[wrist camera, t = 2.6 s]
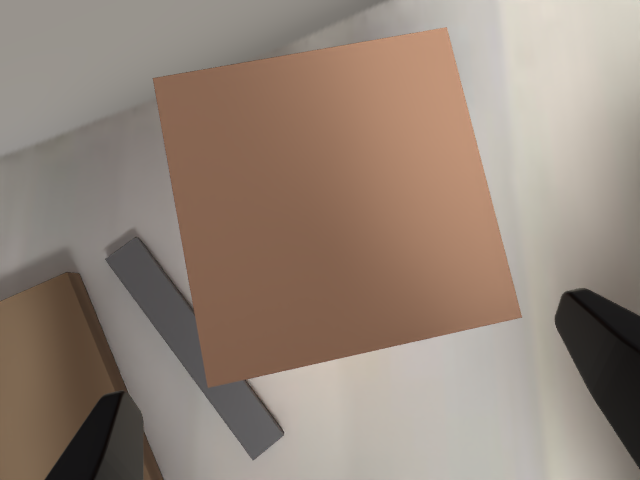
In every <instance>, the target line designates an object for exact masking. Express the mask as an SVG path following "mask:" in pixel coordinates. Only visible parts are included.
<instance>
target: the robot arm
mask: <svg viewBox="0 0 640 480" xmlns="http://www.w3.org/2000/svg"><path fill="white" fill-rule="evenodd" d="M555 325H556V328H557V330H558V332H559V334H560V336H561V338H562V340H563V342H564V343H565V345H566V347H567V349H568V351H569V353H570V355H571V357H572V359H573V361H574V363H575V365H576V367H577V369H578V371H579V373H580V375H581V377H582V378H583V380H584V382H585V384H586V386H587V388H588V390H589V391H590V393H591V395H592V396H593V398H594V400H595V401H596V403H597V405H598V406H599V408H600V409H601V411H602V412H603V414H604V415H605V417H606V418H607V420H608V421H609V423H610V424H611V426H612V428H613V429H614V431H615V432H616V434H617V435H618V437H619V438H620V440H621V441H622V443H623V444H624V446H625V447H626V449H627V451H628V452H629V454H630V455H631V457H632V458H633V460H634V461H635V463H636V464H637V466H638V467H639V469H640V316H639V315H637V314H635V313H633V312H631V311H629V310H627V309H625V308H623V307H621V306H620V305H618V304H616V303H614V302H612V301H610V300H608V299H606V298H604V297H602V296H600V295H598V294H596V293H594V292H592V291H590V290H588V289H585V288H579V289H574V290H570V291H566V292H564V293H563V294H562V296H561V299H560V303H559V306H558V309H557V312H556V315H555ZM44 480H143V417H142V414H141V411H140V410H139V408H138V407H137V405H136V404H135V402H134V401H133V400H132V398H131V397H130V395H129V394H128V393H127V392H126V391H124V390H121V391H116V392H112V393H107V394H105V395H103V396H102V397H101V398H100V399H99V400H98V402H97V403H96V405H95V406H94V408H93V409H92V411H91V412H90V413H89V415H88V416H87V418H86V419H85V421H84V422H83V424H82V425H81V427H80V428H79V430H78V431H77V432H76V434H75V435H74V437H73V438H72V440H71V441H70V443H69V444H68V446H67V447H66V449H65V450H64V451H63V453H62V454H61V456H60V457H59V459H58V460H57V462H56V463H55V465H54V466H53V468H52V469H51V470H50V472H49V473H48V475H47V476H46V478H45V479H44Z"/></svg>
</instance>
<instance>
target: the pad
mask: <svg viewBox="0 0 640 480" xmlns="http://www.w3.org/2000/svg"><path fill="white" fill-rule="evenodd" d="M121 390H124V391H126V392H127V389H126V387H125V384H124V382H123V380H122V377H121V375H120V372H119V370H118V367H117V365H116V362H115V360H114V357H113V355H112V353H111V350H110V348H109V345H108V343H107V340H106V338H105V335H104V333H103V331H102V328H101V326H100V323H99V321H98V318H97V316H96V313H95V311H94V309H93V306H92V304H91V301H90V299H89V296H88V294H87V291H86V289H85V286H84V284H83V282H82V279H81V277H80V274H79V273H70V272H66V273H64V274H62V275H59V276H57V277H55V278H52V279H50V280H48V281H46V282H43V283H41V284H39V285H36V286H34V287H32V288H30V289H27V290H25V291H23V292H20V293H18V294H16V295H14V296H11V297H9V298H7V299H4V300H2V301H0V480H44V479H45V478H46V476H47V475H48V473H49V472H50V470H51V469H52V468H53V466H54V465H55V463H56V462H57V460H58V459H59V457H60V456H61V454H62V453H63V451H64V450H65V449H66V447H67V446H68V444H69V443H70V441H71V440H72V438H73V437H74V435H75V434H76V432H77V431H78V430H79V428H80V427H81V425H82V424H83V422H84V421H85V419H86V418H87V416H88V415H89V413H90V412H91V411H92V409H93V408H94V406H95V405H96V403H97V402H98V400H99V399H100V398H101V397H102V396H103V395H105V394H107V393H112V392H116V391H121ZM127 393H128V392H127ZM143 480H163V477H162V475H161V473H160V470H159V468H158V465H157V463H156V460H155V458H154V455H153V453H152V450H151V448H150V446H149V443H148V441H147V438H146V436H145V433H144V431H143Z"/></svg>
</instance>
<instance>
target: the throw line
mask: <svg viewBox="0 0 640 480" xmlns="http://www.w3.org/2000/svg"><path fill="white" fill-rule="evenodd" d="M105 260H106V261H107V263H108V264H109V265H110V267H111V268H112V270H113V271H114V272H115V274H116V275H117V276H118V278H119V279H120V280H121V282H122V283H123V284H124V286H125V287H126V289H127V290H128V291H129V293H130V294H131V295H132V297H133V298H134V299H135V301H136V302H137V303H138V305H139V306H140V308H141V309H142V310H143V312H144V313H145V314H146V316H147V317H148V318H149V320H150V321H151V322H152V324H153V325H154V327H155V328H156V329H157V331H158V332H159V333H160V335H161V336H162V337H163V339H164V340H165V341H166V343H167V344H168V346H169V347H170V348H171V350H172V351H173V352H174V354H175V355H176V356H177V358H178V359H179V360H180V362H181V363H182V365H183V366H184V367H185V369H186V370H187V371H188V373H189V374H190V375H191V377H192V378H193V379H194V381H195V382H196V384H197V385H198V386H199V388H200V389H201V390H202V392H203V393H204V394H205V396H206V397H207V399H208V400H209V401H210V403H211V404H212V405H213V407H214V408H215V409H216V411H217V412H218V413H219V415H220V416H221V418H222V419H223V420H224V422H225V423H226V424H227V426H228V427H229V428H230V430H231V431H232V432H233V434H234V435H235V437H236V438H237V439H238V441H239V442H240V443H241V445H242V446H243V447H244V449H245V450H246V451H247V453H248V454H249V456H250V457H251V458H252V460H254V459H256V458H257V457H258V456H259V455H260V454H262V453H263V452H264V451H265V450H267V449H268V448H269V447H270V446H271V445H273V444H274V443H275V442H276V441H278V440H279V439H280V438H281V437H282V436H284V432H283V430H282V429H281V428H280V426H279V425H278V424H277V422H276V421H275V420H274V418H273V417H272V416H271V414H270V413H269V412H268V410H267V409H266V408H265V406H264V405H263V404H262V402H261V401H260V400H259V398H258V397H257V396H256V394H255V393H254V392H253V390H252V389H251V388H250V386H249V385H248V383H247V382H246V381H245V380H241V381H237V382H232V383H228V384H223V385H219V386H214V387H210V388H208V386H207V381H206V375H205V370H204V364H203V358H202V353H201V347H200V341H199V336H198V330H197V324H196V319H195V313H194V311H193V310H192V308H191V307H190V306H189V304H188V303H187V302H186V300H185V299H184V298H183V296H182V295H181V294H180V292H179V291H178V290H177V288H176V287H175V286H174V284H173V283H172V282H171V280H170V279H169V278H168V276H167V275H166V274H165V272H164V271H163V270H162V268H161V267H160V266H159V264H158V263H157V262H156V260H155V259H154V258H153V256H152V255H151V254H150V252H149V251H148V250H147V248H146V247H145V245H144V244H143V243H142V241H141V240H140V239H139V238H137V237H135V238H134V239H132V240H131V241H129V242H128V243H127V244H125V245H124V246H123V247H121V248H120V249H118V250H117V251H116V252H114V253H113V254H111V255H110V256H109V257H107V258H106V259H105Z"/></svg>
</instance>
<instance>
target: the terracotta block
mask: <svg viewBox="0 0 640 480" xmlns="http://www.w3.org/2000/svg"><path fill="white" fill-rule="evenodd" d="M153 81H154V87H155V93H156V99H157V104H158V110H159V116H160V121H161V127H162V133H163V138H164V144H165V150H166V155H167V161H168V166H169V172H170V178H171V183H172V189H173V195H174V200H175V206H176V212H177V217H178V223H179V228H180V234H181V240H182V245H183V251H184V257H185V262H186V268H187V274H188V279H189V285H190V291H191V296H192V302H193V307H194V313H195V319H196V324H197V330H198V336H199V341H200V347H201V353H202V358H203V364H204V370H205V375H206V381H207V386H208V388H210V387H214V386H219V385H223V384H228V383H232V382H237V381H241V380H246V379H250V378H254V377H259V376H263V375H268V374H272V373H277V372H281V371H286V370H290V369H295V368H299V367H303V366H308V365H312V364H317V363H321V362H326V361H330V360H335V359H339V358H343V357H348V356H352V355H357V354H361V353H366V352H370V351H375V350H379V349H384V348H388V347H392V346H397V345H401V344H406V343H410V342H415V341H419V340H424V339H428V338H433V337H437V336H441V335H446V334H450V333H455V332H459V331H464V330H468V329H473V328H477V327H482V326H486V325H490V324H495V323H499V322H504V321H508V320H513V319H517V318H522V315H521V312H520V308H519V304H518V300H517V296H516V292H515V289H514V285H513V281H512V277H511V273H510V269H509V265H508V262H507V258H506V254H505V250H504V246H503V242H502V239H501V235H500V231H499V227H498V223H497V219H496V215H495V212H494V208H493V204H492V200H491V196H490V192H489V188H488V185H487V181H486V177H485V173H484V169H483V165H482V162H481V158H480V154H479V150H478V146H477V142H476V138H475V135H474V131H473V127H472V123H471V119H470V115H469V112H468V108H467V104H466V100H465V96H464V92H463V88H462V85H461V81H460V77H459V73H458V69H457V65H456V61H455V58H454V54H453V50H452V46H451V42H450V38H449V35H448V31H447V27H446V28H440V29H434V30H429V31H423V32H417V33H411V34H405V35H400V36H394V37H388V38H382V39H377V40H371V41H365V42H359V43H353V44H348V45H342V46H336V47H330V48H325V49H319V50H313V51H307V52H301V53H296V54H290V55H284V56H278V57H272V58H267V59H261V60H255V61H249V62H244V63H238V64H232V65H226V66H220V67H215V68H209V69H203V70H198V71H192V72H186V73H180V74H174V75H168V76H163V77H157V78H153Z"/></svg>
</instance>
